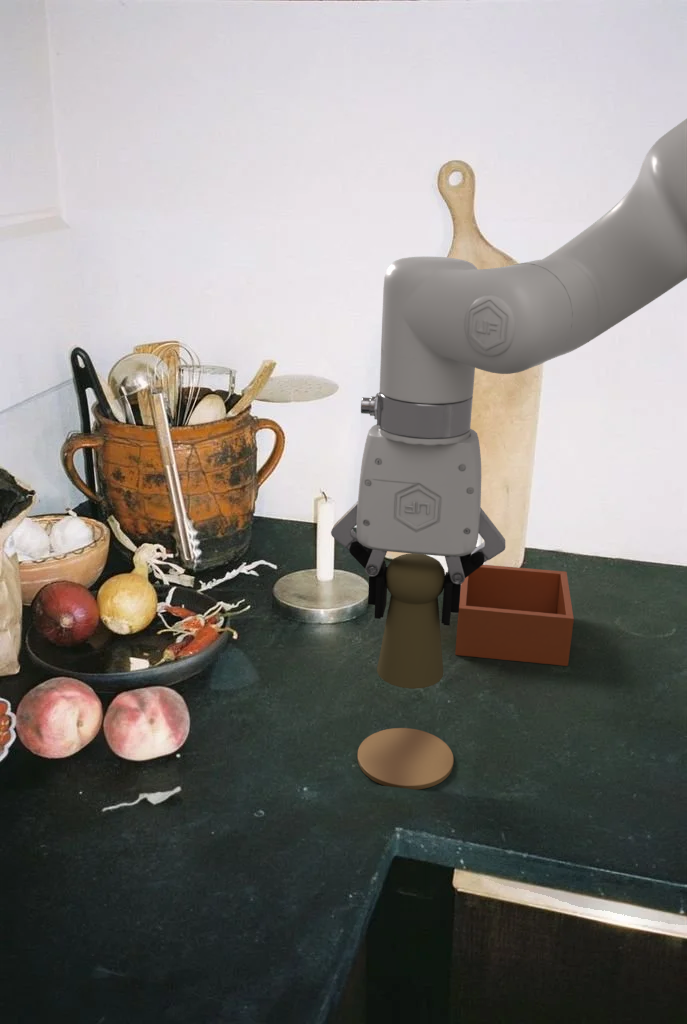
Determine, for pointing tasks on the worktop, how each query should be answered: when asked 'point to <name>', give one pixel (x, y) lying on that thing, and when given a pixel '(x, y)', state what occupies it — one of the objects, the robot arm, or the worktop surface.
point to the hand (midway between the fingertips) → (413, 613)
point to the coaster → (405, 758)
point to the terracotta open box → (515, 615)
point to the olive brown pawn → (412, 623)
